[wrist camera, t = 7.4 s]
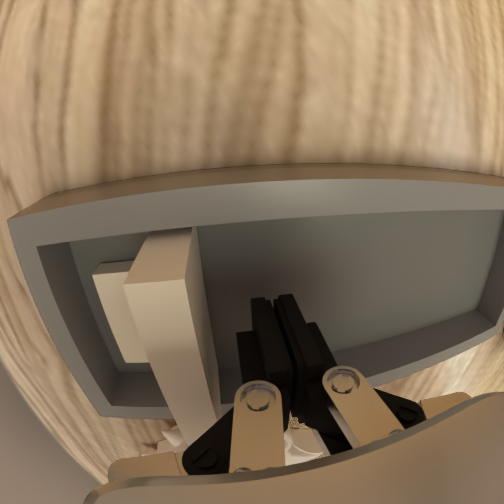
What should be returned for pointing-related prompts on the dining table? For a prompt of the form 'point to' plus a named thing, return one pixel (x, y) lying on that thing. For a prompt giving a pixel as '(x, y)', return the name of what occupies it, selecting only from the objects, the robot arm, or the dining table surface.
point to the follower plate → (166, 323)
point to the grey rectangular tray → (278, 265)
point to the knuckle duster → (295, 442)
